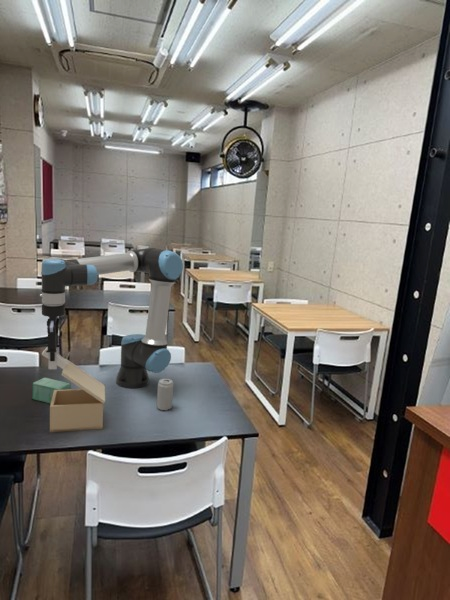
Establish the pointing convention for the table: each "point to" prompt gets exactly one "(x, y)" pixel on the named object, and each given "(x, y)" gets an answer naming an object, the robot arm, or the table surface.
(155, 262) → the robot arm
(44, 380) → the box
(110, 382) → the table surface
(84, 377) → the lid
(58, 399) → the carton
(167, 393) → the beverage can
